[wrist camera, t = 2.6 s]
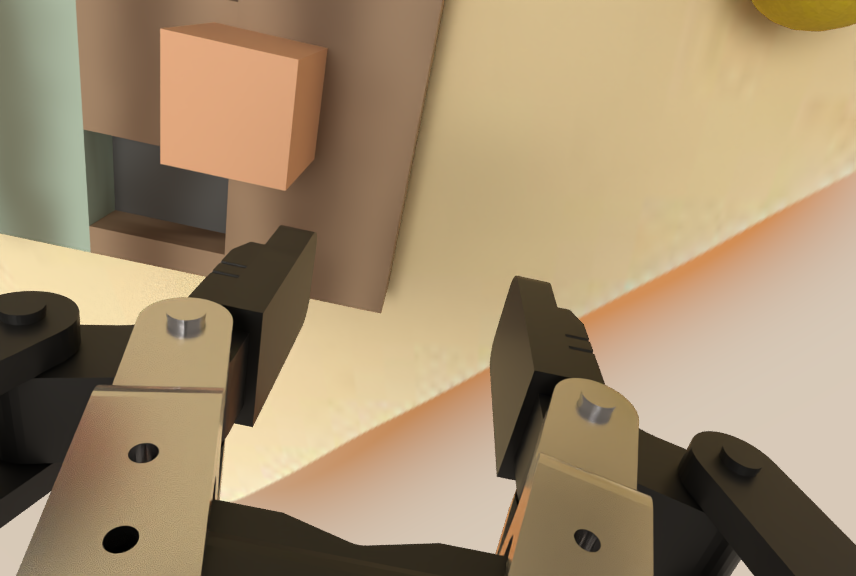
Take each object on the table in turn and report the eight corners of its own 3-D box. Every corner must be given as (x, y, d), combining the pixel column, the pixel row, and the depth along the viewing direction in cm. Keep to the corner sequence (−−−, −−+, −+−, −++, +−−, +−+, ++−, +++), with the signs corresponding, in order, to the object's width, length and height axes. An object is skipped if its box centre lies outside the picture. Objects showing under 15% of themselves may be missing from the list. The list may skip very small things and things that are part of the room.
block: (327, 48, 26) (298, 59, 21) (314, 159, 28) (285, 191, 23) (214, 22, 25) (160, 28, 21) (209, 136, 28) (160, 163, 23)
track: (468, -119, 25) (469, -150, 20) (387, 288, 34) (372, 343, 29) (-52, -245, 24) (-199, -313, 19) (5, 207, 33) (-83, 248, 28)
